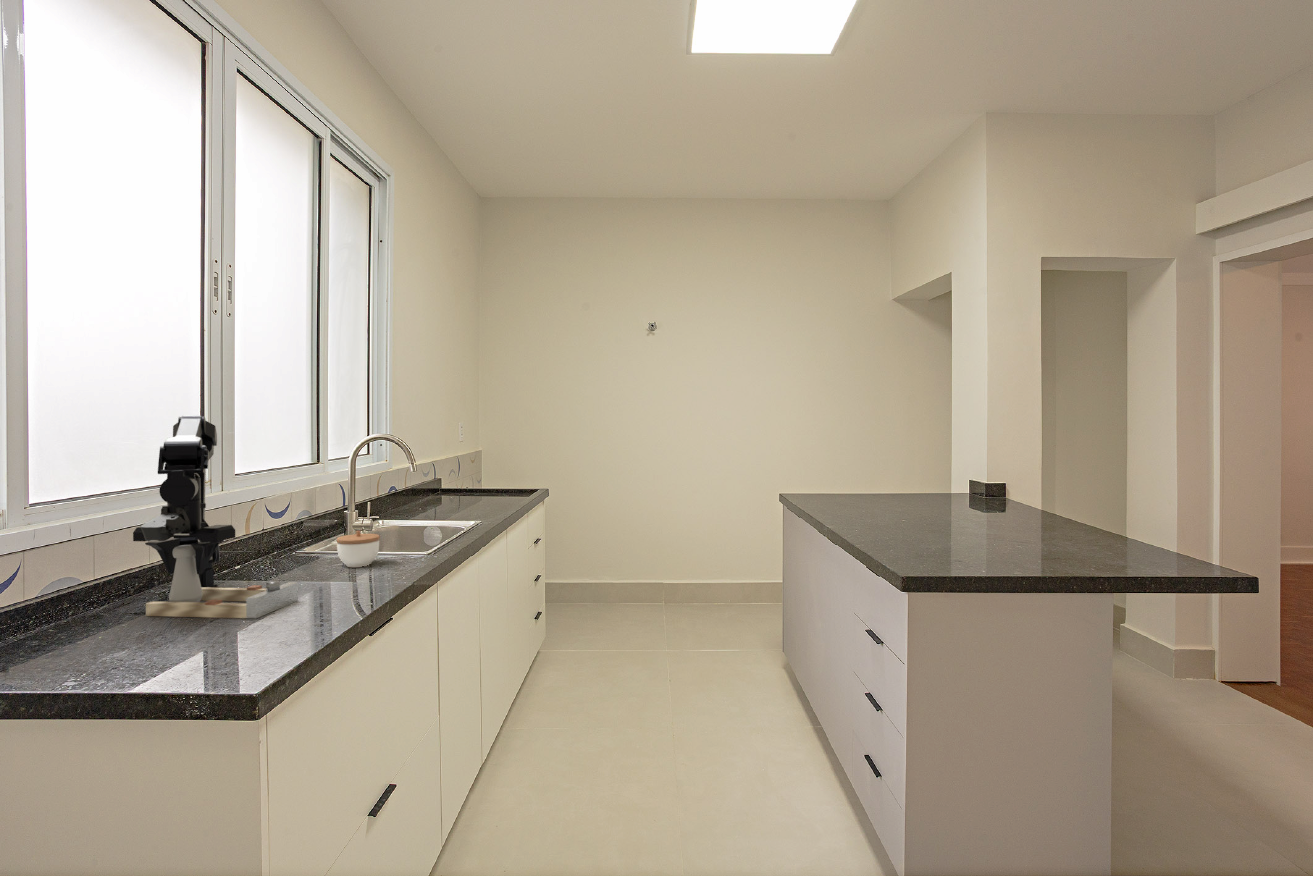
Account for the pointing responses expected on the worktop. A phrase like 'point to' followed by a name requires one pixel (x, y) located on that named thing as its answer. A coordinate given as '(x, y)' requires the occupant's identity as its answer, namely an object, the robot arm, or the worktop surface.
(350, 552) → the lidded jar
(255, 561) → the worktop surface
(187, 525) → the robot arm
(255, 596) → the wooden tray
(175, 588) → the salt shaker
